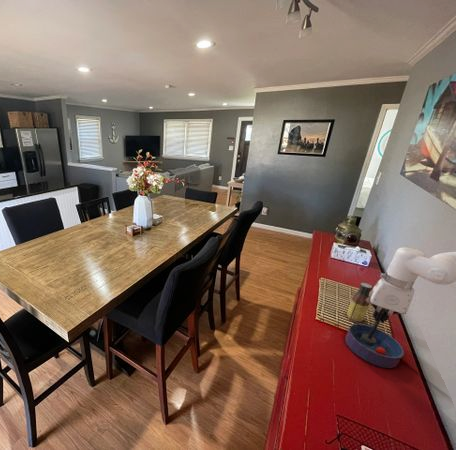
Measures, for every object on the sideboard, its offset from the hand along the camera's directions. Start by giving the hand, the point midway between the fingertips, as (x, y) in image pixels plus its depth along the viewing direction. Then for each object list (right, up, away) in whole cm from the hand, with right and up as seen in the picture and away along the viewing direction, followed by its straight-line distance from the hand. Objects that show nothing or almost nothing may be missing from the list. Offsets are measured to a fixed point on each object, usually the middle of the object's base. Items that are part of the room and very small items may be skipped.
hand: (378, 319), depth 93 cm
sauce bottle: (+9, -9, +23) cm, 27 cm away
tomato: (+5, -15, +4) cm, 16 cm away
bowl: (+3, -16, +7) cm, 17 cm away
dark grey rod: (0, -11, +5) cm, 12 cm away
